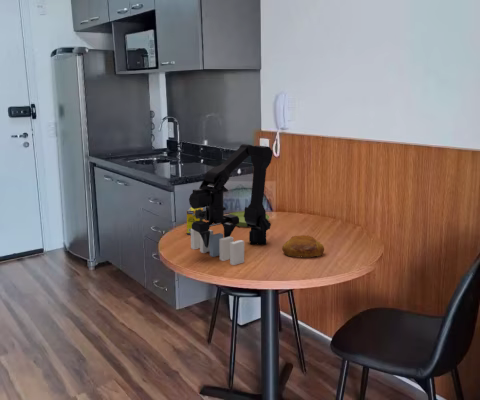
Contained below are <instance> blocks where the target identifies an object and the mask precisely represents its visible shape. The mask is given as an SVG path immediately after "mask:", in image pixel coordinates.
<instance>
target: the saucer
mask: <svg viewBox="0 0 480 400" xmlns="http://www.w3.org/2000/svg"><path fill="white" fill-rule="evenodd" d="M244 213H245V210H243V211H242V210H241V211H233V212H230V213H229V214H232V215H235V216H238V218H239V224H236V225H237V226H236V227H241V228H242V227H244V228H248V227H247V223H246V221H245V217H244ZM266 219H267V220H268V221H269V219H270V215H269V214H267V213H266Z"/></svg>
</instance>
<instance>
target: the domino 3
mask: <svg viewBox="0 0 480 400" xmlns="http://www.w3.org/2000/svg"><path fill="white" fill-rule="evenodd" d="M221 238H224V233H221V232H219V233H213V235H210V237H209V241H210V252H209V256H210V257H212V258H215V257H218V256H219V257H220V249H219V239H221Z"/></svg>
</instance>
